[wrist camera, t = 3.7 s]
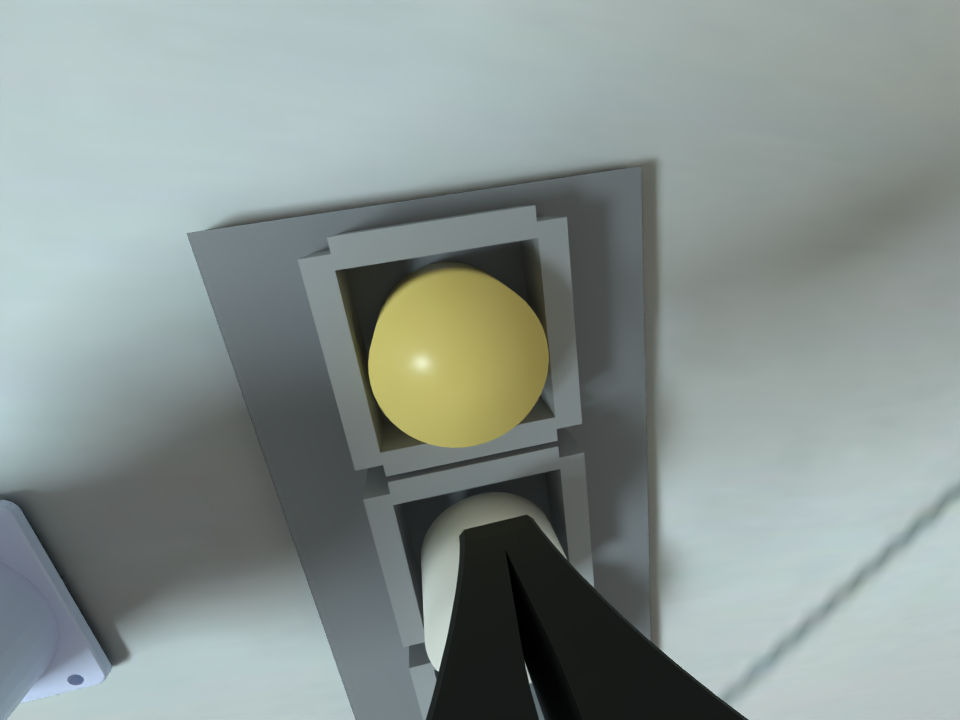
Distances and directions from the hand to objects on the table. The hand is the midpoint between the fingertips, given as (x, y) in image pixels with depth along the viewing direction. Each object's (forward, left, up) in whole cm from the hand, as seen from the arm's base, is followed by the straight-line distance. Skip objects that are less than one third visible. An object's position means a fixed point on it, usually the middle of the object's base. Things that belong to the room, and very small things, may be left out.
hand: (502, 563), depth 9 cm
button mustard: (0, +3, -7) cm, 7 cm away
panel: (0, -4, -8) cm, 9 cm away
